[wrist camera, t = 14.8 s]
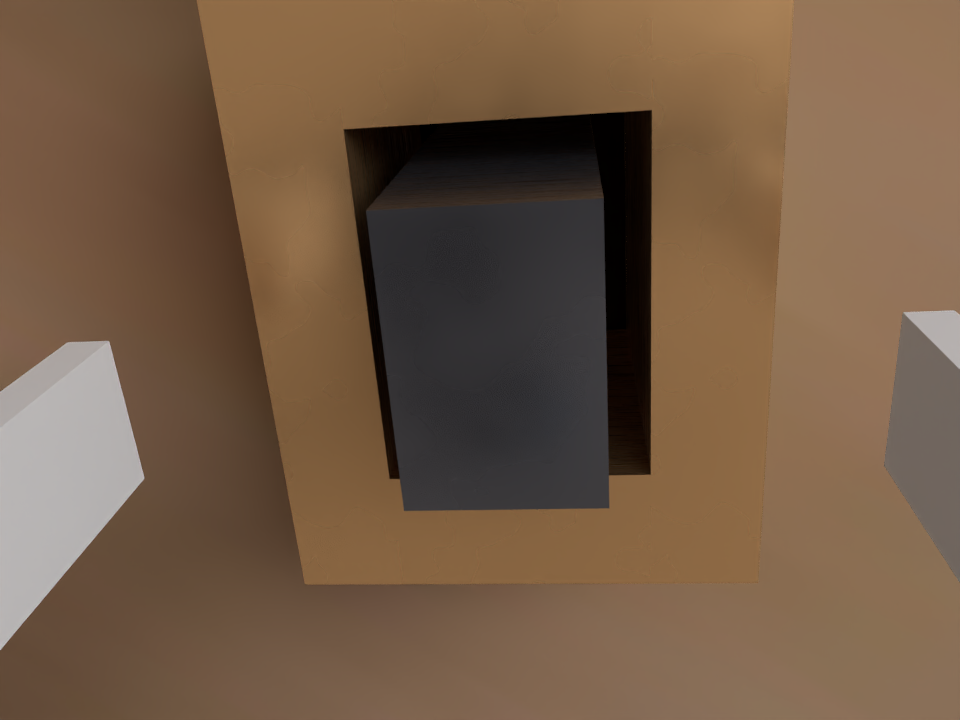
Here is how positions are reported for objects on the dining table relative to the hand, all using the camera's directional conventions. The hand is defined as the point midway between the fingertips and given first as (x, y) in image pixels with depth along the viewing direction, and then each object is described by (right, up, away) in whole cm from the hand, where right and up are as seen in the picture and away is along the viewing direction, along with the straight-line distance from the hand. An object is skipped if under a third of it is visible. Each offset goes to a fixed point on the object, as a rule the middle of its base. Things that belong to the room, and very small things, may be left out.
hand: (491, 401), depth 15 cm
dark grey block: (+1, +5, +12) cm, 13 cm away
